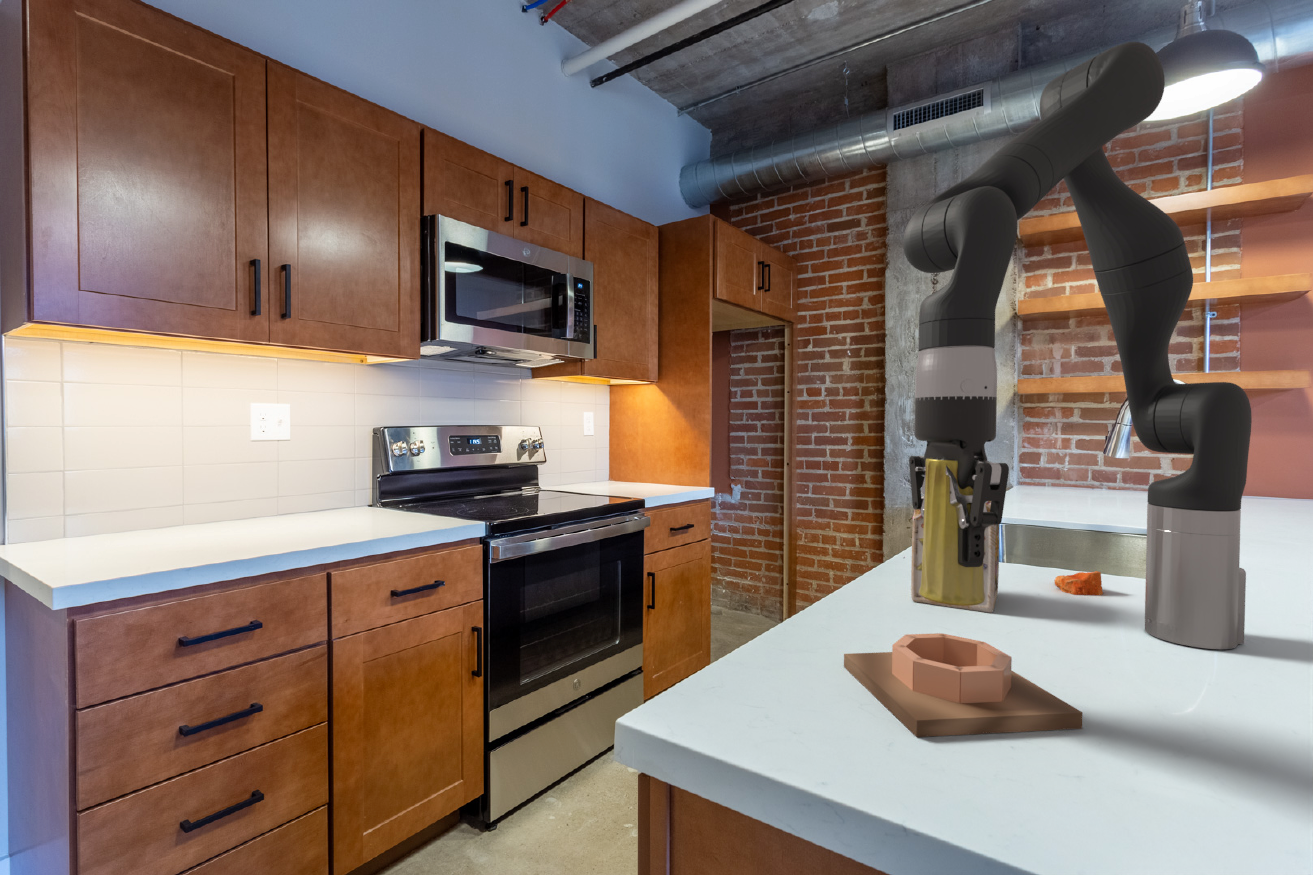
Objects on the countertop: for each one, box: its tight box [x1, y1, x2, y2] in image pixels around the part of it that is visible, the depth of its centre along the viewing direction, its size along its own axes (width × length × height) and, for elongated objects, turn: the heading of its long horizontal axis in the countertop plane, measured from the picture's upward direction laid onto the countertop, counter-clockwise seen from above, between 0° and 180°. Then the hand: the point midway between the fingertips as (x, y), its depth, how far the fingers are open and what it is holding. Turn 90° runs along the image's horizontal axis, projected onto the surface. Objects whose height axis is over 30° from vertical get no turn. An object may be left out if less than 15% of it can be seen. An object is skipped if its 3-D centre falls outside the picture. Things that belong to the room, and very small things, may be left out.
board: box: [843, 651, 1083, 738], centre depth 64 cm, size 16×16×2 cm
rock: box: [1054, 570, 1104, 597], centre depth 104 cm, size 12×12×4 cm
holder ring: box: [891, 632, 1013, 703], centre depth 64 cm, size 10×10×3 cm
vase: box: [919, 458, 985, 606], centre depth 64 cm, size 6×6×14 cm
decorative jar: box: [910, 495, 1000, 614], centre depth 99 cm, size 12×12×18 cm
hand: (952, 558), depth 64 cm, fingers closed on vase, 5 cm apart
